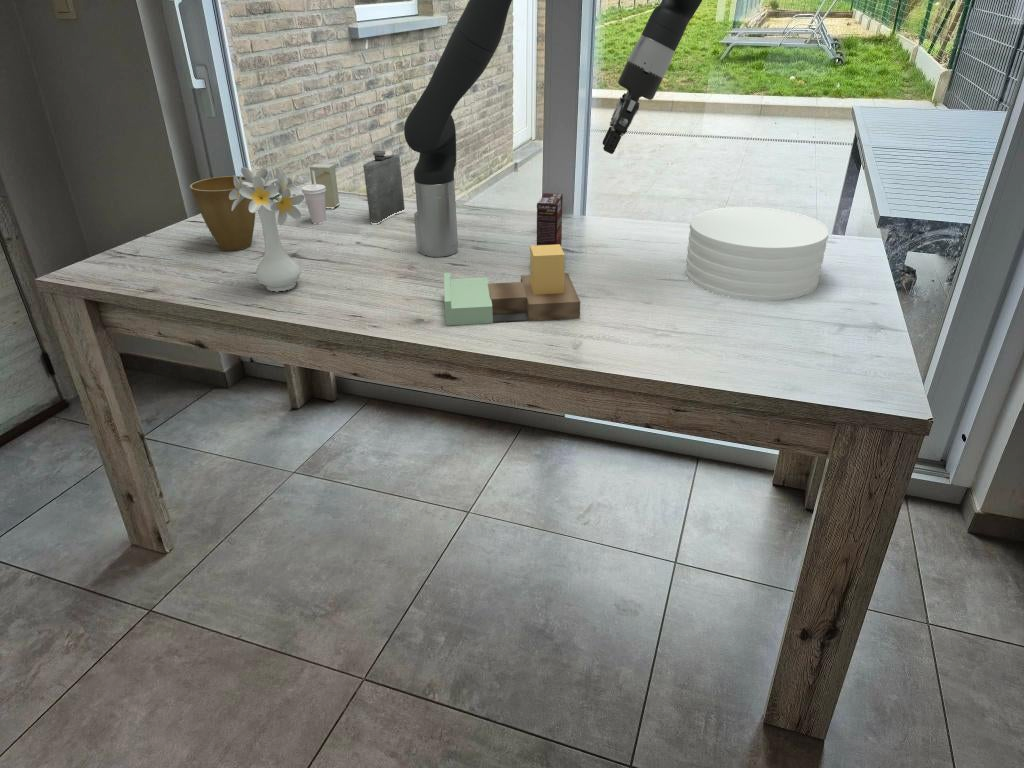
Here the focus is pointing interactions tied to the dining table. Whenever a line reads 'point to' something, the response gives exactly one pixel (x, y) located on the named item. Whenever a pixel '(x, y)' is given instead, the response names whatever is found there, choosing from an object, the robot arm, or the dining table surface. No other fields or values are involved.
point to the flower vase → (271, 223)
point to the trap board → (532, 302)
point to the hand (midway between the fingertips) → (606, 149)
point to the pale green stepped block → (467, 301)
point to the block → (547, 269)
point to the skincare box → (326, 182)
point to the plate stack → (755, 252)
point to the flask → (383, 186)
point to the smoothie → (315, 201)
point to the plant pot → (224, 212)
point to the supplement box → (549, 219)
